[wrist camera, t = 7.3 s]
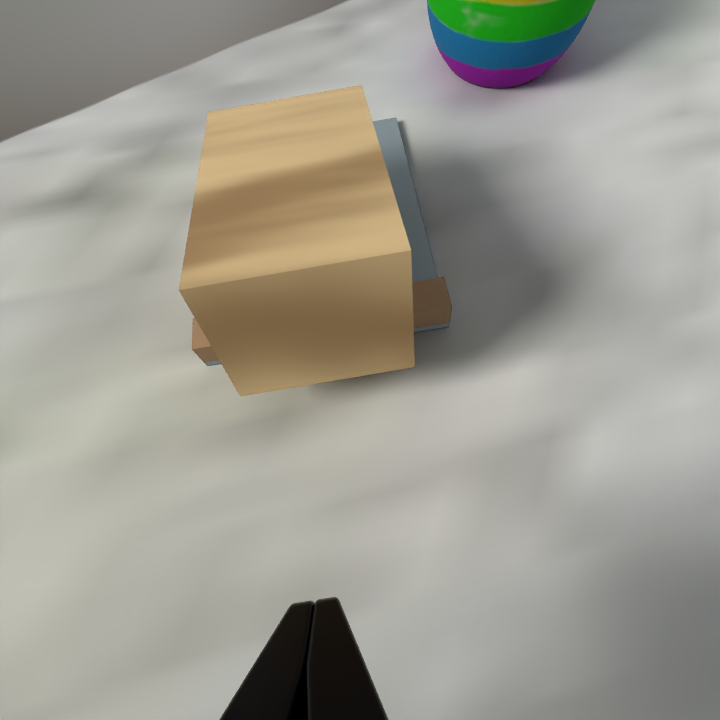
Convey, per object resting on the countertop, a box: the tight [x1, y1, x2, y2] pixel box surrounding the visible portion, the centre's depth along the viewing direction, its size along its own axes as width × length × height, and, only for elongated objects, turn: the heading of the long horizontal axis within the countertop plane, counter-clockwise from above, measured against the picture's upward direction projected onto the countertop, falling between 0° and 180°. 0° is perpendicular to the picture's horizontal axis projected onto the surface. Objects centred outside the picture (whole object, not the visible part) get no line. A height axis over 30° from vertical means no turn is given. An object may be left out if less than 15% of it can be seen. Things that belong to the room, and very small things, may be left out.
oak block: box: [179, 85, 415, 396], centre depth 17 cm, size 5×6×10 cm
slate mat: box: [192, 118, 452, 366], centre depth 21 cm, size 12×10×2 cm
